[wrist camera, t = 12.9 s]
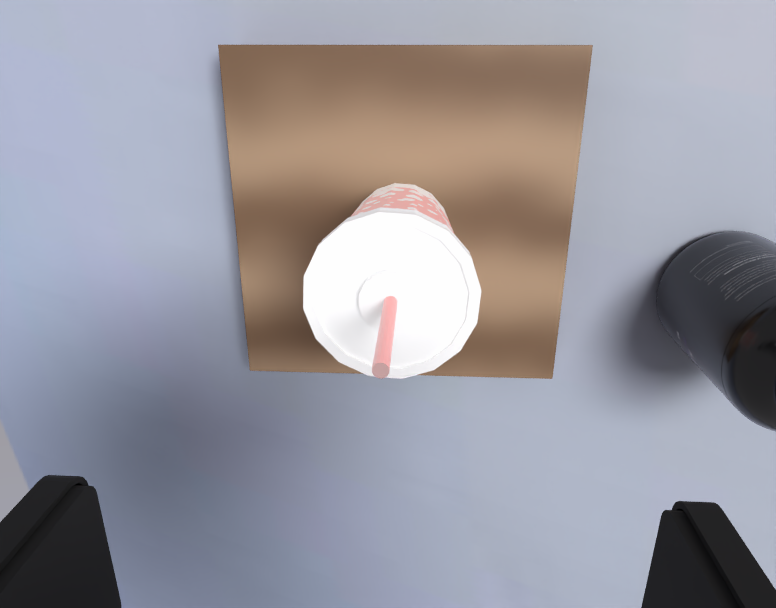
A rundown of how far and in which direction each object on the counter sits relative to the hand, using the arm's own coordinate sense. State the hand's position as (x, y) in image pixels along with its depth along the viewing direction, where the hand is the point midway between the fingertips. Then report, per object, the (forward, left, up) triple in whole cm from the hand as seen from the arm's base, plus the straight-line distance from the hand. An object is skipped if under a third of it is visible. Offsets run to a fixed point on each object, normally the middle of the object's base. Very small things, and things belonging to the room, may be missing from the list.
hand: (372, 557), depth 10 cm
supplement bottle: (-4, -17, -24) cm, 29 cm away
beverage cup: (0, 0, -21) cm, 21 cm away
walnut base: (0, 0, -23) cm, 23 cm away
